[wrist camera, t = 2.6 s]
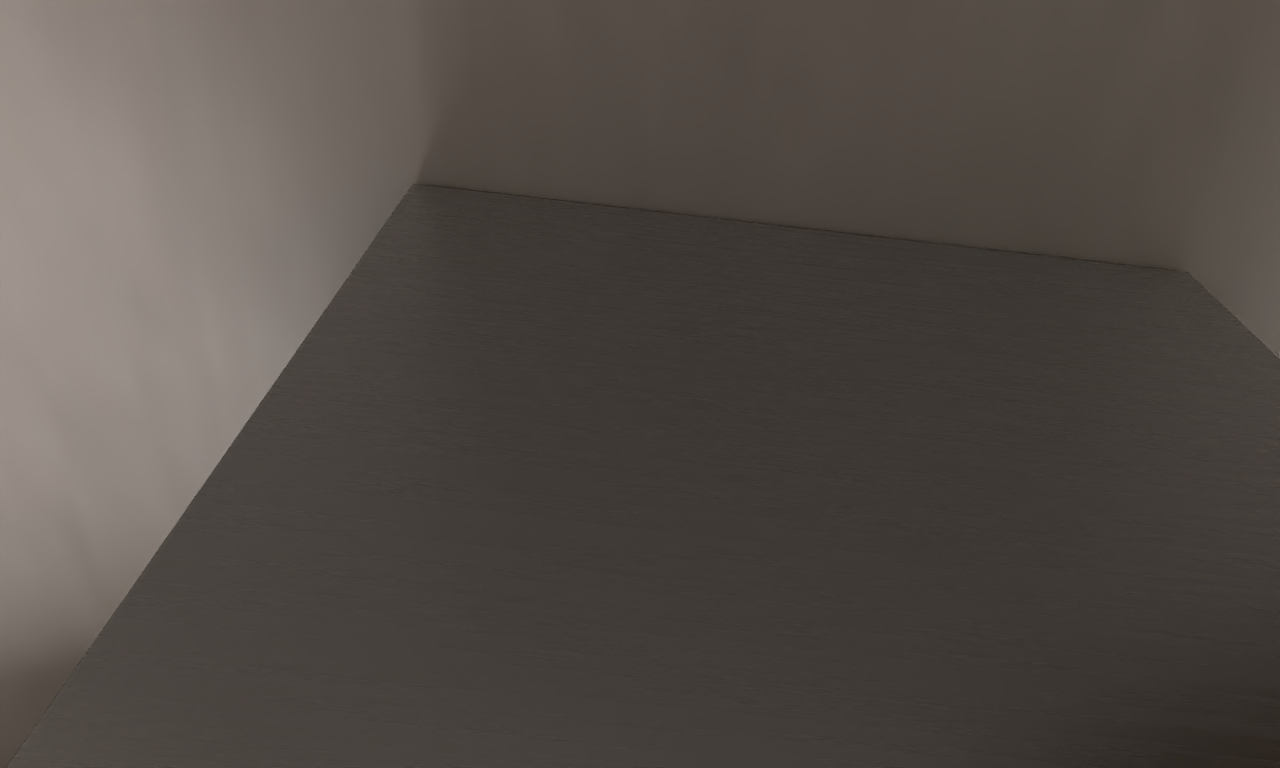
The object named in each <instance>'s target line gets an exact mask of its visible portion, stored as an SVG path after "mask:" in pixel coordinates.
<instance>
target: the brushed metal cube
mask: <svg viewBox="0 0 1280 768" xmlns="http://www.w3.org/2000/svg"><path fill="white" fill-rule="evenodd" d="M6 768H1280V359H1279V358H1278V357H1277V356H1276V355H1275V354H1273V353H1272V352H1271V351H1270V350H1269V349H1268V348H1267V347H1266V346H1265V345H1264V344H1263V343H1262V342H1261V341H1260V340H1259V339H1258V338H1257V337H1256V336H1255V335H1253V334H1252V333H1251V332H1250V331H1249V330H1248V329H1247V328H1246V327H1245V326H1244V325H1243V324H1242V323H1241V322H1240V321H1239V320H1238V319H1237V318H1236V317H1234V316H1233V315H1232V314H1231V313H1230V312H1229V311H1228V310H1227V309H1226V308H1225V307H1224V306H1223V305H1222V304H1221V303H1220V302H1219V301H1218V300H1217V299H1216V298H1214V297H1213V296H1212V295H1211V294H1210V293H1209V292H1208V291H1207V290H1206V289H1205V288H1204V287H1203V286H1202V285H1201V284H1200V283H1199V282H1198V281H1197V280H1195V279H1194V278H1193V277H1192V276H1191V275H1190V274H1189V273H1188V272H1181V271H1172V270H1163V269H1155V268H1146V267H1137V266H1129V265H1120V264H1111V263H1102V262H1094V261H1085V260H1076V259H1067V258H1059V257H1050V256H1041V255H1032V254H1024V253H1015V252H1006V251H997V250H989V249H980V248H971V247H962V246H954V245H945V244H936V243H927V242H919V241H910V240H901V239H892V238H884V237H875V236H866V235H857V234H849V233H840V232H831V231H822V230H814V229H805V228H796V227H787V226H779V225H770V224H761V223H752V222H744V221H735V220H726V219H718V218H709V217H700V216H691V215H683V214H674V213H665V212H656V211H648V210H639V209H630V208H621V207H613V206H604V205H595V204H586V203H578V202H569V201H560V200H551V199H543V198H534V197H525V196H516V195H508V194H499V193H490V192H481V191H473V190H464V189H455V188H446V187H438V186H429V185H420V184H413V185H412V186H411V188H410V189H409V190H408V192H407V193H406V195H405V196H404V198H403V199H402V200H401V202H400V203H399V205H398V206H397V208H396V209H395V211H394V212H393V213H392V215H391V216H390V218H389V219H388V221H387V222H386V223H385V225H384V226H383V228H382V229H381V231H380V232H379V233H378V235H377V236H376V238H375V239H374V241H373V242H372V244H371V245H370V246H369V248H368V249H367V251H366V252H365V254H364V255H363V256H362V258H361V259H360V261H359V262H358V264H357V265H356V267H355V268H354V269H353V271H352V272H351V274H350V275H349V277H348V278H347V279H346V281H345V282H344V284H343V285H342V287H341V288H340V289H339V291H338V292H337V294H336V295H335V297H334V298H333V300H332V301H331V302H330V304H329V305H328V307H327V308H326V310H325V311H324V312H323V314H322V315H321V317H320V318H319V320H318V321H317V322H316V324H315V325H314V327H313V328H312V330H311V331H310V333H309V334H308V335H307V337H306V338H305V340H304V341H303V343H302V344H301V345H300V347H299V348H298V350H297V351H296V353H295V354H294V356H293V357H292V358H291V360H290V361H289V363H288V364H287V366H286V367H285V368H284V370H283V371H282V373H281V374H280V376H279V377H278V378H277V380H276V381H275V383H274V384H273V386H272V387H271V389H270V390H269V391H268V393H267V394H266V396H265V397H264V399H263V400H262V401H261V403H260V404H259V406H258V407H257V409H256V410H255V411H254V413H253V414H252V416H251V417H250V419H249V420H248V422H247V423H246V424H245V426H244V427H243V429H242V430H241V432H240V433H239V434H238V436H237V437H236V439H235V440H234V442H233V443H232V445H231V446H230V447H229V449H228V450H227V452H226V453H225V455H224V456H223V457H222V459H221V460H220V462H219V463H218V465H217V466H216V467H215V469H214V470H213V472H212V473H211V475H210V476H209V478H208V479H207V480H206V482H205V483H204V485H203V486H202V488H201V489H200V490H199V492H198V493H197V495H196V496H195V498H194V499H193V500H192V502H191V503H190V505H189V506H188V508H187V509H186V511H185V512H184V513H183V515H182V516H181V518H180V519H179V521H178V522H177V523H176V525H175V526H174V528H173V529H172V531H171V532H170V534H169V535H168V536H167V538H166V539H165V541H164V542H163V544H162V545H161V546H160V548H159V549H158V551H157V552H156V554H155V555H154V556H153V558H152V559H151V561H150V562H149V564H148V565H147V567H146V568H145V569H144V571H143V572H142V574H141V575H140V577H139V578H138V579H137V581H136V582H135V584H134V585H133V587H132V588H131V589H130V591H129V592H128V594H127V595H126V597H125V598H124V600H123V601H122V602H121V604H120V605H119V607H118V608H117V610H116V611H115V612H114V614H113V615H112V617H111V618H110V620H109V621H108V623H107V624H106V625H105V627H104V628H103V630H102V631H101V633H100V634H99V635H98V637H97V638H96V640H95V641H94V643H93V644H92V645H91V647H90V648H89V650H88V651H87V653H86V654H85V656H84V657H83V658H82V660H81V661H80V663H79V664H78V666H77V667H76V668H75V670H74V671H73V673H72V674H71V676H70V677H69V678H68V680H67V681H66V683H65V684H64V686H63V687H62V689H61V690H60V691H59V693H58V694H57V696H56V697H55V699H54V700H53V701H52V703H51V704H50V706H49V707H48V709H47V710H46V712H45V713H44V714H43V716H42V717H41V719H40V720H39V722H38V723H37V724H36V726H35V727H34V729H33V730H32V732H31V733H30V734H29V736H28V737H27V739H26V740H25V742H24V743H23V745H22V746H21V747H20V749H19V750H18V752H17V753H16V755H15V756H14V757H13V759H12V760H11V762H10V763H9V765H8V766H7V767H6Z"/></svg>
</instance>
